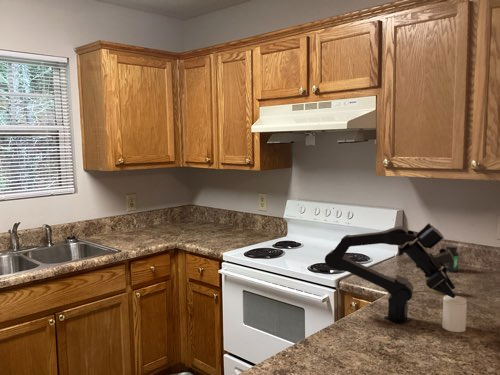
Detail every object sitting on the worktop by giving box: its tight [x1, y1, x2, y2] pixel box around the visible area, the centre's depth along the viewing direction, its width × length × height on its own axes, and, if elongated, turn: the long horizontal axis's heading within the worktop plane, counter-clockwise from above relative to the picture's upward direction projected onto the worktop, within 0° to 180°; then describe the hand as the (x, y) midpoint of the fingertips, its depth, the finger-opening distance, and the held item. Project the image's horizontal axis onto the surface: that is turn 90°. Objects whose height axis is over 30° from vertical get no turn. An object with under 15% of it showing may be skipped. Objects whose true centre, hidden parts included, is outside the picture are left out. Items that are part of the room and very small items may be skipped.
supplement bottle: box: [443, 244, 460, 273], centre depth 216 cm, size 7×7×12 cm
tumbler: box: [441, 295, 467, 333], centre depth 149 cm, size 7×7×10 cm
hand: (454, 292), depth 149 cm, fingers open, 9 cm apart
